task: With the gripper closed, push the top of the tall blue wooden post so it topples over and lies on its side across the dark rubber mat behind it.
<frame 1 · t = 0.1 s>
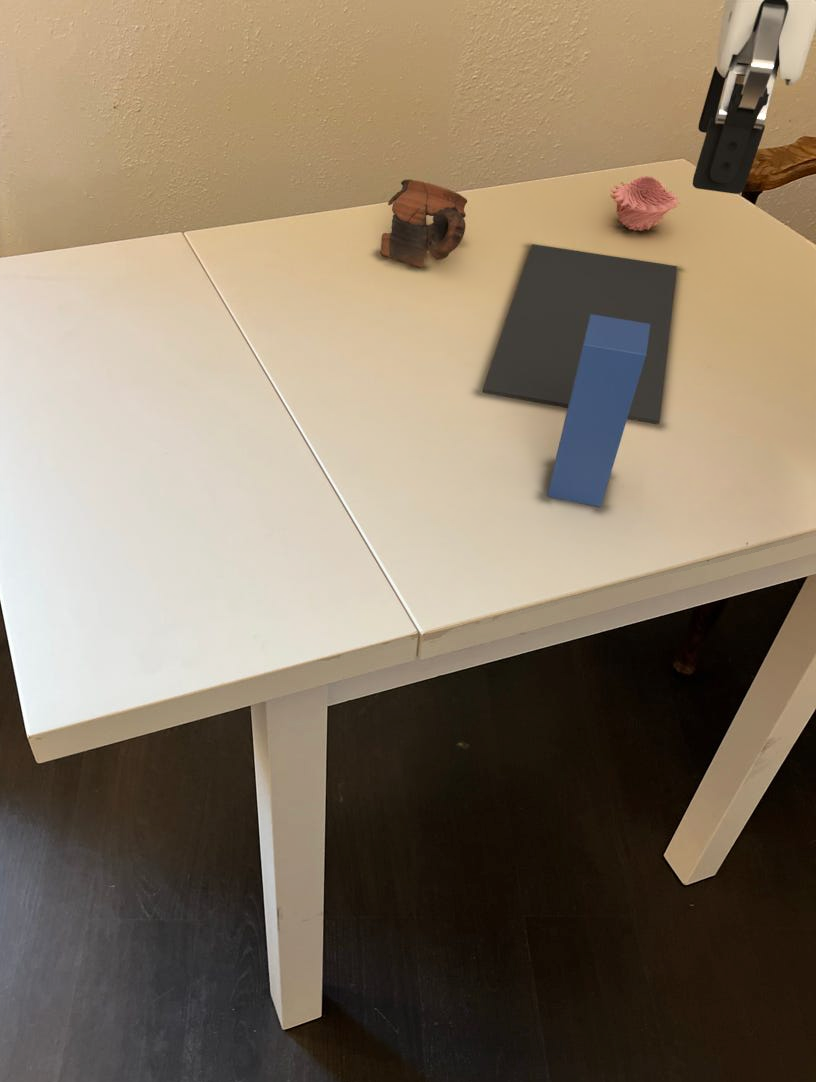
hand: (718, 159, 64), 24 cm above the table, tool pointing down, fingers open, 9 cm apart
brown broken pot: (426, 254, 106), on the table
rubber mat: (587, 325, 96), on the table
pink coral piece: (635, 228, 111), on the table
blue post: (576, 485, 79), on the table
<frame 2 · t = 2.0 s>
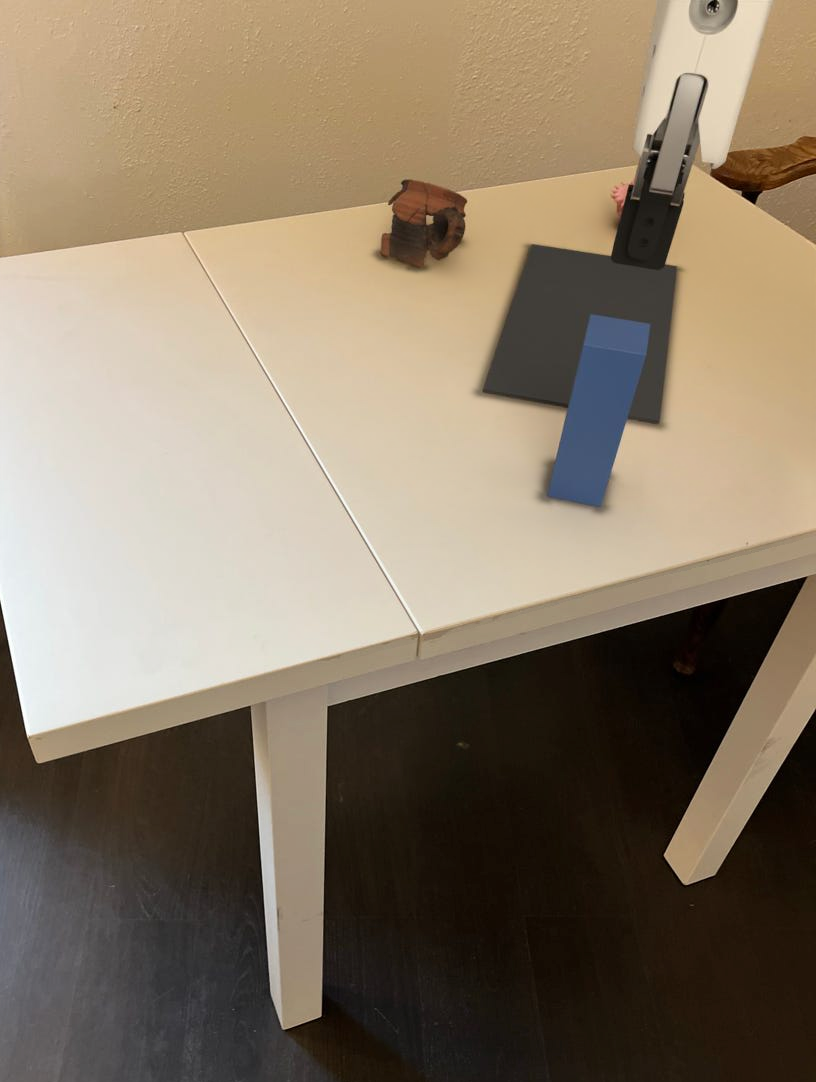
hand: (637, 259, 58), 23 cm above the table, tool pointing down, fingers closed
nothing on the table moved.
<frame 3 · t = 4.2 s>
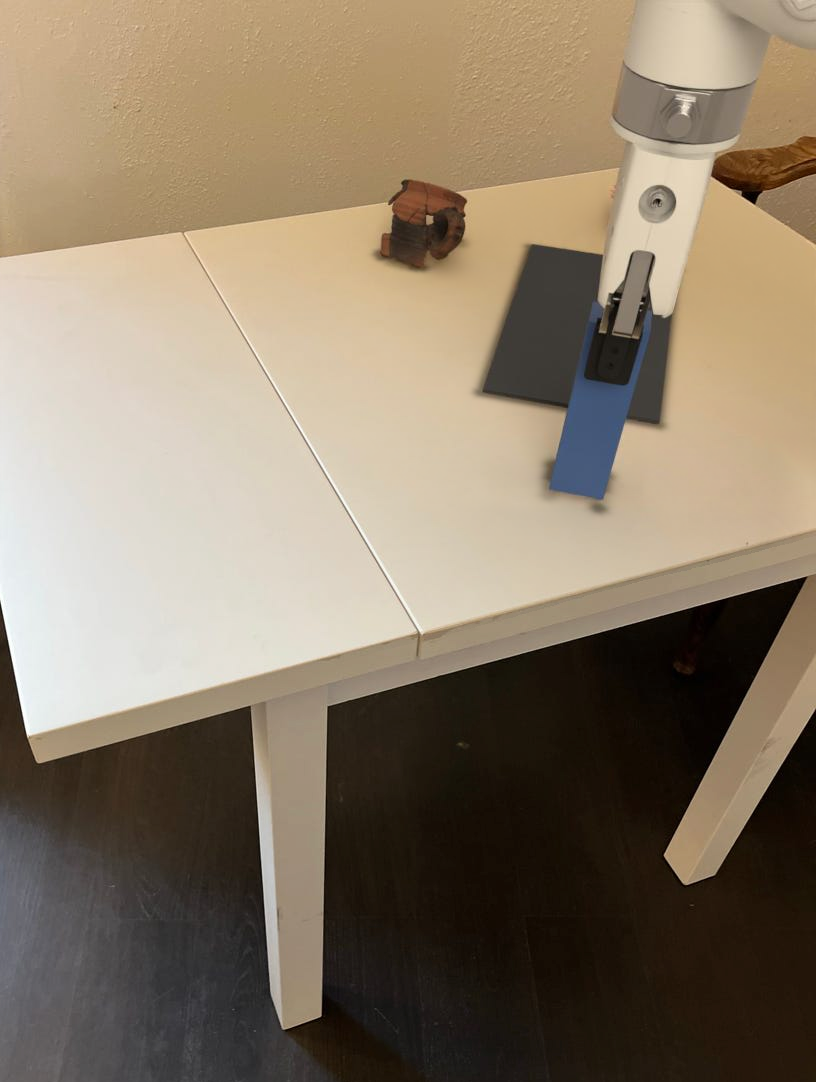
hand: (606, 376, 69), 12 cm above the table, tool pointing down, fingers closed
blue post: (577, 482, 79), on the table, tilted 9°
everything else where it was.
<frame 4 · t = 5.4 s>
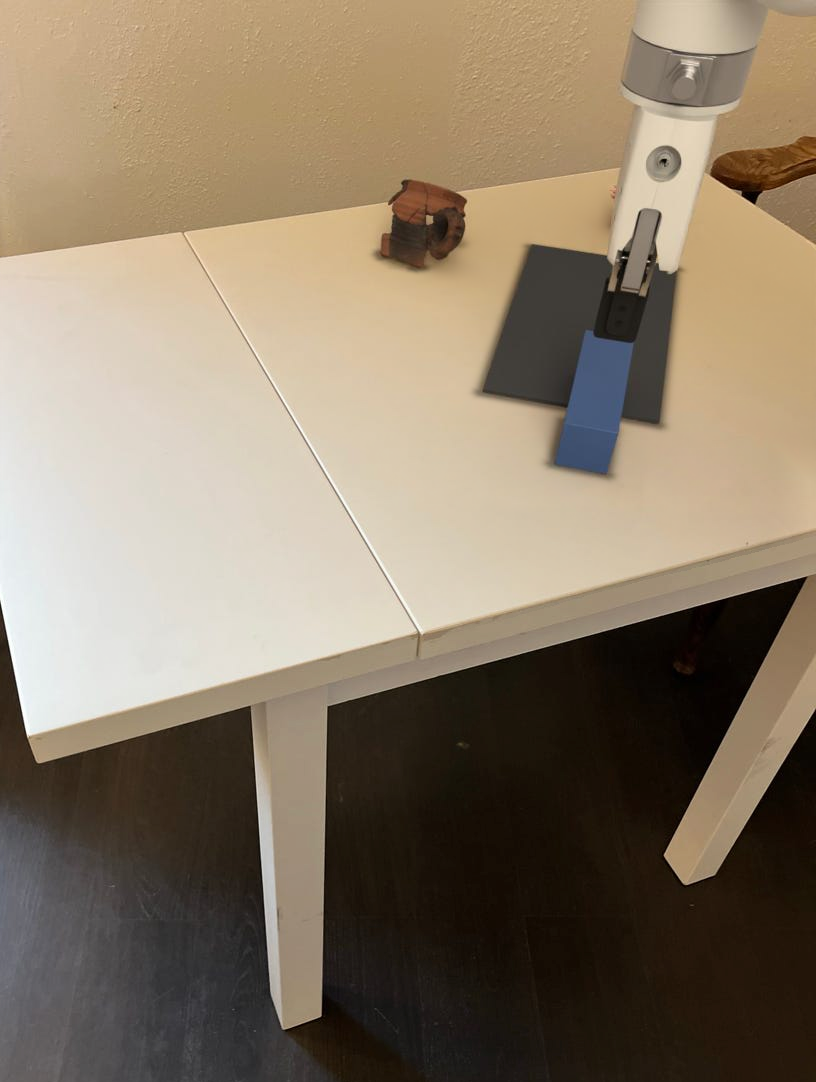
hand: (614, 334, 73), 12 cm above the table, tool pointing down, fingers closed
blue post: (585, 449, 79), point 2 cm above the table, tilted 87°, touching rubber mat
everything else where it was.
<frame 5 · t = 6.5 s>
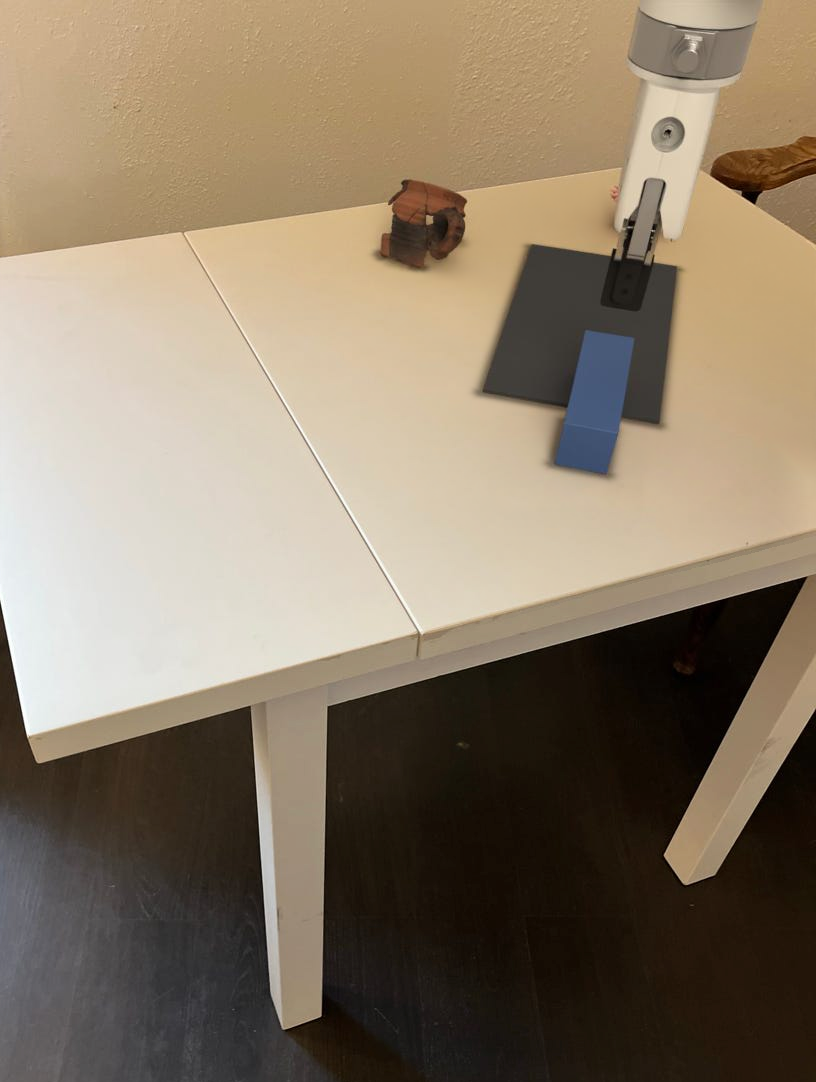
hand: (620, 303, 76), 12 cm above the table, tool pointing down, fingers closed
nothing on the table moved.
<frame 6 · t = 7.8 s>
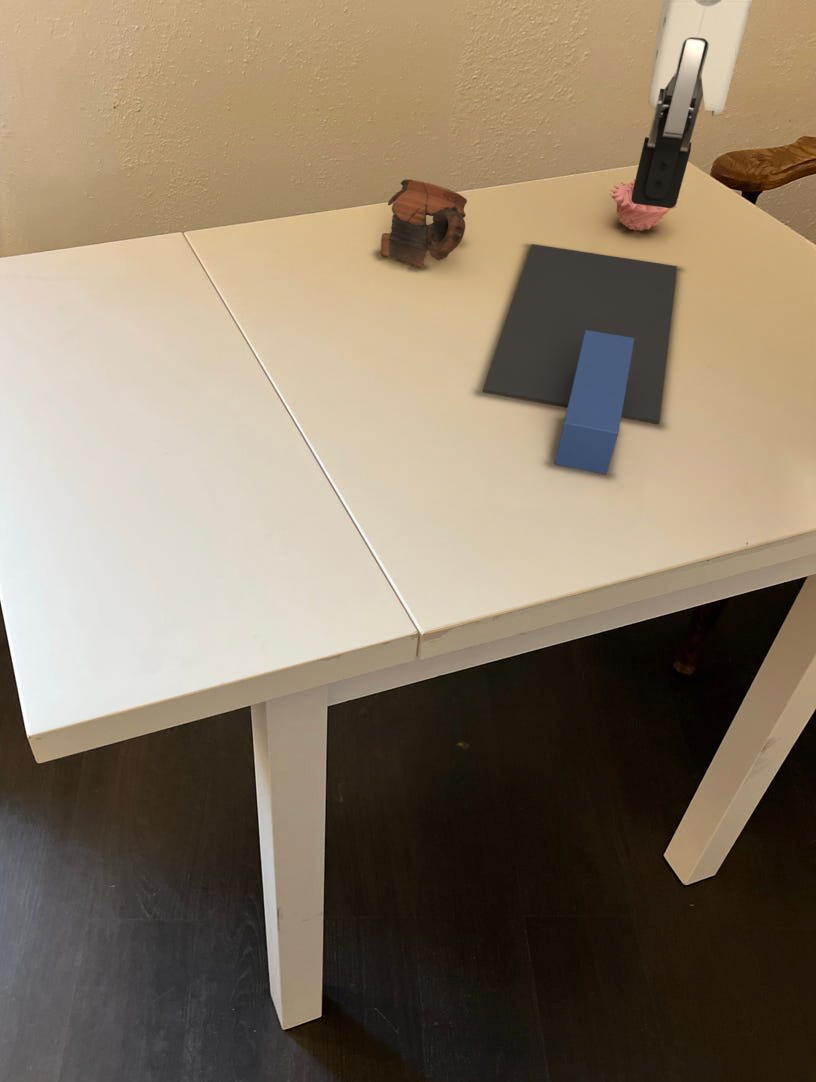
hand: (653, 201, 70), 20 cm above the table, tool pointing down, fingers closed
nothing on the table moved.
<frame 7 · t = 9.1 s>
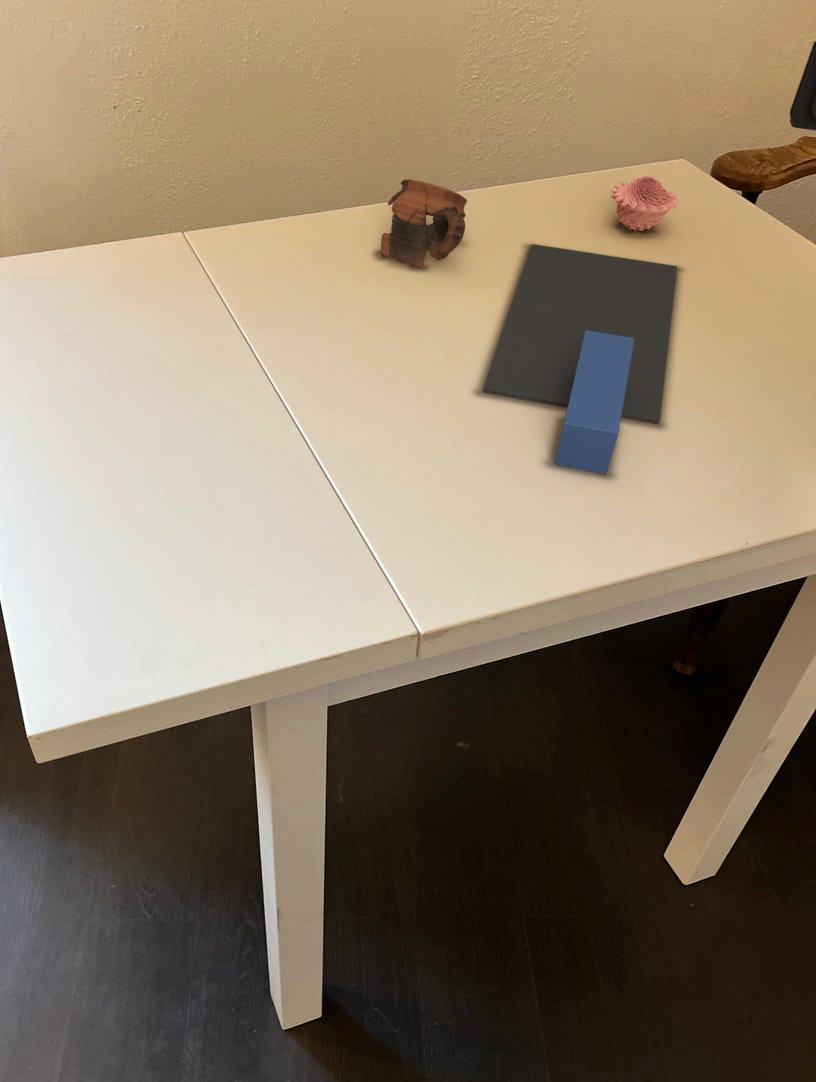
nothing on the table moved.
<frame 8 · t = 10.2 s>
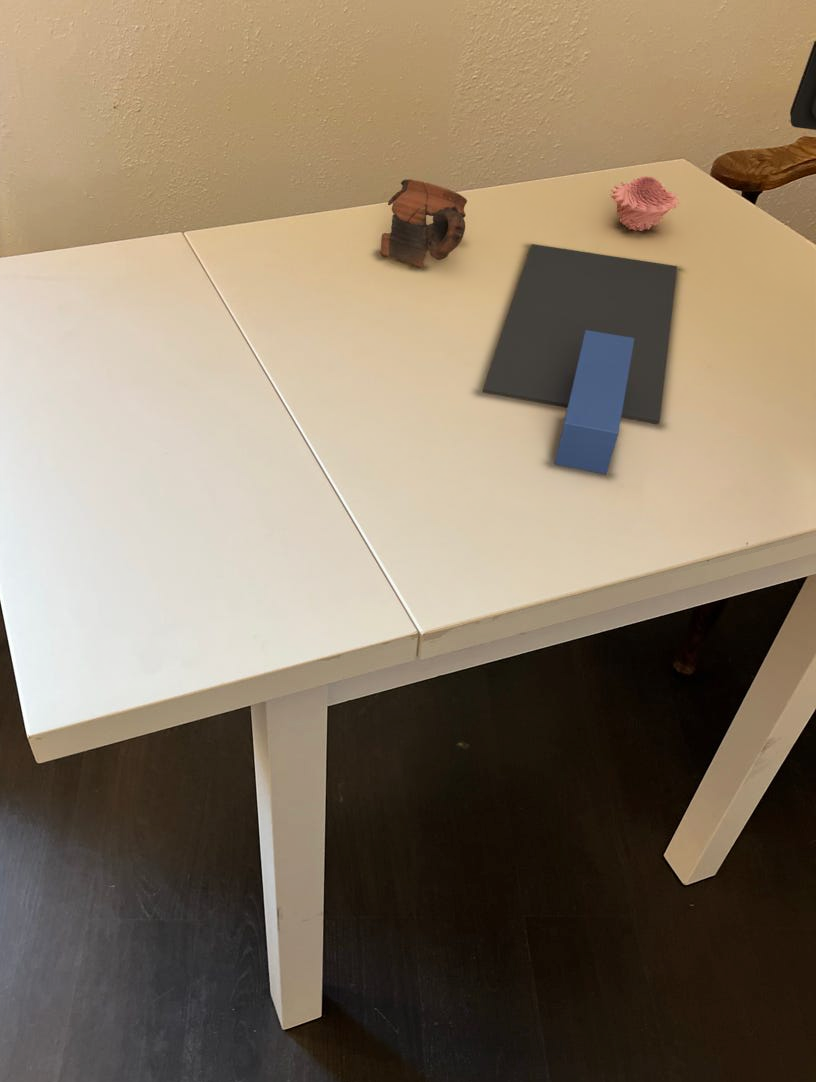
nothing on the table moved.
at the end: blue post tilted 87°; blue post touching rubber mat, table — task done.
